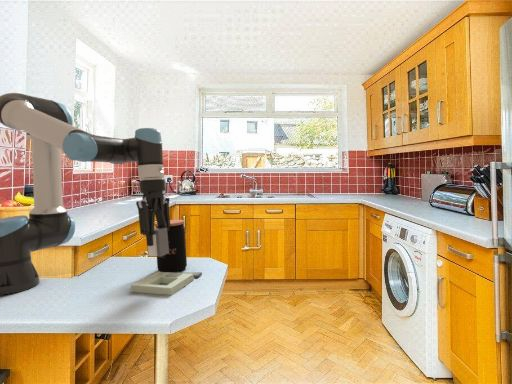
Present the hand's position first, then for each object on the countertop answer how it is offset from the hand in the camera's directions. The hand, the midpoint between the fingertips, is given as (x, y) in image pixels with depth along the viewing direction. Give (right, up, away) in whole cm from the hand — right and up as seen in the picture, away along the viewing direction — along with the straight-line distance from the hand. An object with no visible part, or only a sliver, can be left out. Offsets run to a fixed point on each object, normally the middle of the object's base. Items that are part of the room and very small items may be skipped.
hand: (158, 253), depth 92 cm
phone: (+8, -10, +9) cm, 16 cm away
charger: (0, 0, 0) cm, 0 cm away
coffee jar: (-1, -10, +18) cm, 21 cm away
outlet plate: (+1, -10, +1) cm, 11 cm away
